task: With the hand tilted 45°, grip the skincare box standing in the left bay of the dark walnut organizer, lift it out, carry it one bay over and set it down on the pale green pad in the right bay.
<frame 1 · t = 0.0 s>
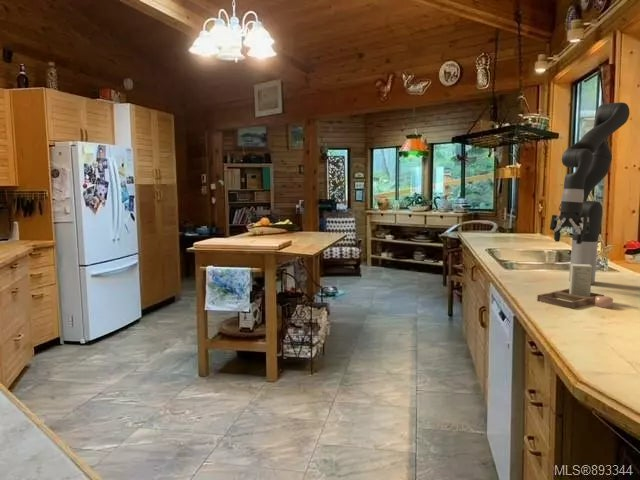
hand: (567, 242, 193), 17 cm above the countertop, tool pointing down, fingers open, 8 cm apart
skincare box: (578, 299, 174), resting in walnut organizer
walnut organizer: (570, 300, 171), on the countertop
pinkish brown rounded piece: (603, 306, 164), on the countertop
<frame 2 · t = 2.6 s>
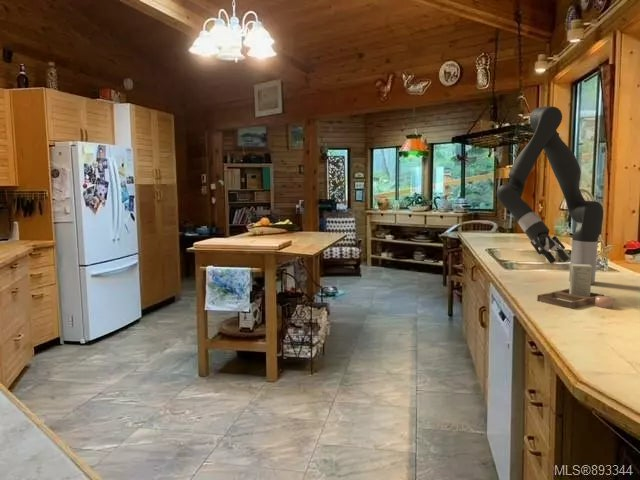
hand: (560, 261, 179), 12 cm above the countertop, tool tilted 45°, fingers open, 8 cm apart
nothing on the countertop moved.
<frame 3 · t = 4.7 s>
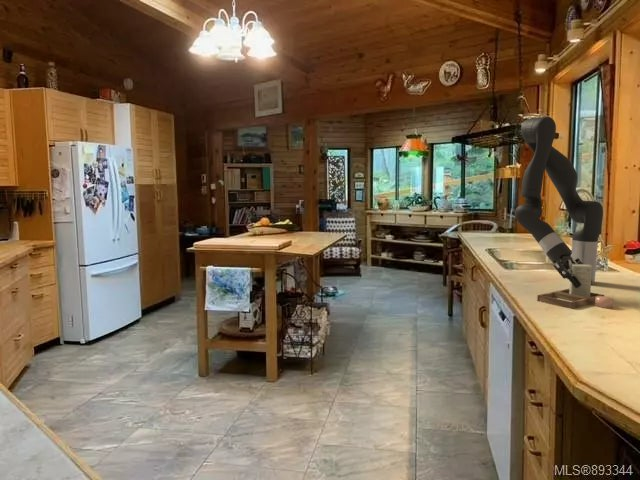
hand: (584, 285, 173), 5 cm above the countertop, tool tilted 45°, fingers closed on skincare box, 7 cm apart
skincare box: (578, 299, 174), resting in walnut organizer, touching gripper
everything else where it was.
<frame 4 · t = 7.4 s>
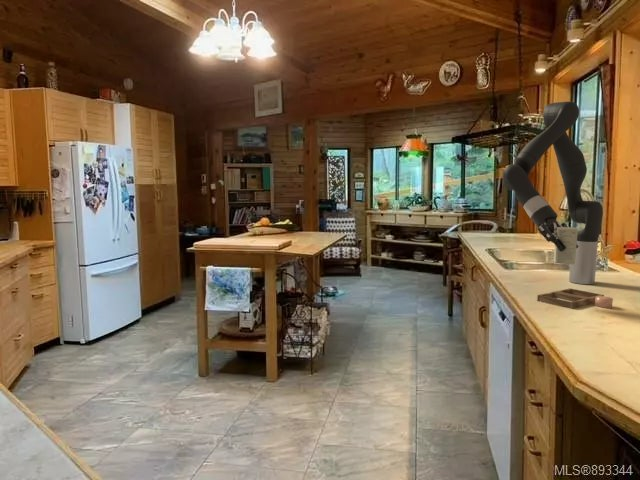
hand: (569, 249, 165), 19 cm above the countertop, tool tilted 45°, fingers closed on skincare box, 7 cm apart
skincare box: (563, 264, 167), point 13 cm above the countertop, touching gripper
everything else where it was.
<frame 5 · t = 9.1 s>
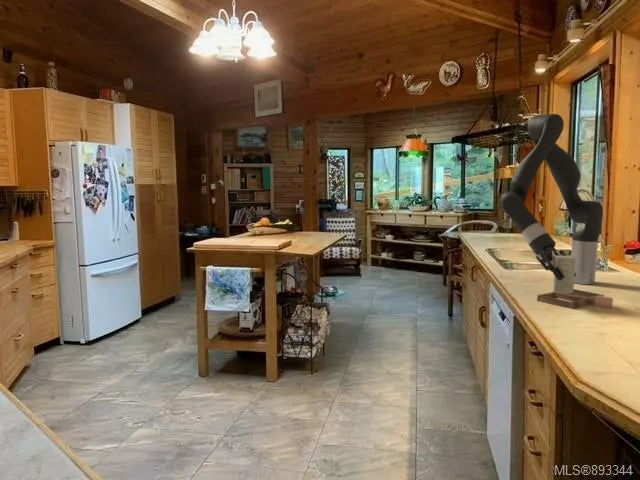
hand: (568, 277, 166), 9 cm above the countertop, tool tilted 45°, fingers closed on skincare box, 7 cm apart
skincare box: (562, 292, 168), point 4 cm above the countertop, touching gripper
everything else where it was.
when the fingers open (7 cm above the countertop, at t = 10.2 s): skincare box drops 1 cm, resting on walnut organizer.
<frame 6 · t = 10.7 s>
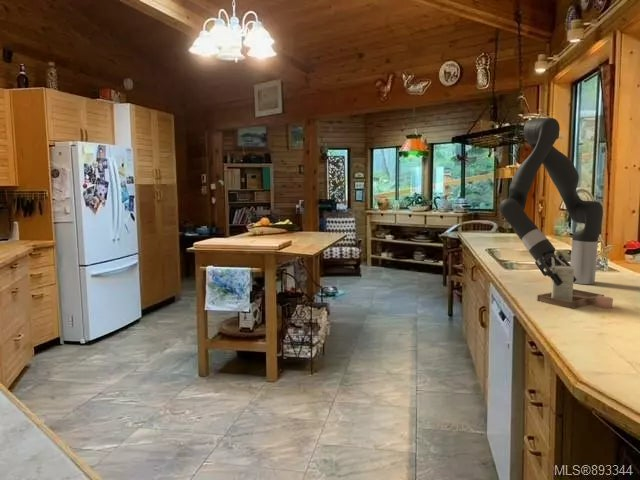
hand: (567, 283, 166), 7 cm above the countertop, tool tilted 45°, fingers open, 8 cm apart
skincare box: (561, 302, 168), resting on walnut organizer
everything else where it was.
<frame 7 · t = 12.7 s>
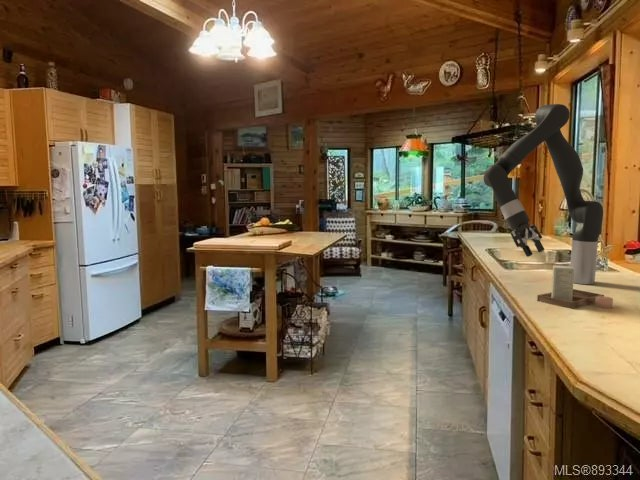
hand: (536, 253, 181), 15 cm above the countertop, tool tilted 30°, fingers open, 8 cm apart
nothing on the countertop moved.
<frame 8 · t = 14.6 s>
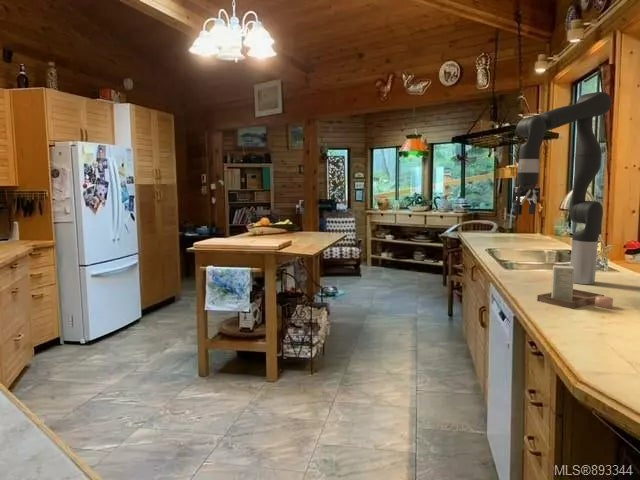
hand: (525, 214, 189), 28 cm above the countertop, tool pointing down, fingers open, 8 cm apart
nothing on the countertop moved.
at the end: skincare box inside the target area on the walnut organizer (0.3 cm from its centre), point 0.1 cm above the walnut organizer's base; skincare box tilted 0°; the gripper is holding nothing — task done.
